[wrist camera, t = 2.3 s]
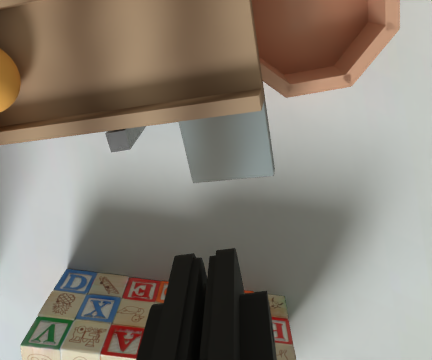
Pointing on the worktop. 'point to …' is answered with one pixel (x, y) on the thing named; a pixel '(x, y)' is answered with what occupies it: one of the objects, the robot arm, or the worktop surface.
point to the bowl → (320, 41)
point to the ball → (8, 81)
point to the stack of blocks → (112, 319)
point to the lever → (141, 76)
